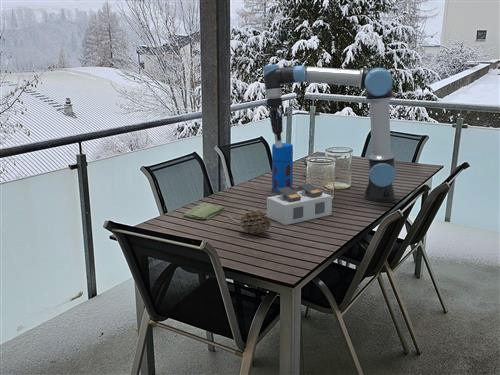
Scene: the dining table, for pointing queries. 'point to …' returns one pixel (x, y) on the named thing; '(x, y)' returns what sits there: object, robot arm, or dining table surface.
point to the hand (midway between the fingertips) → (279, 147)
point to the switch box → (298, 208)
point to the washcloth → (204, 211)
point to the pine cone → (253, 222)
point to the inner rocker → (310, 190)
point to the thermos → (282, 166)
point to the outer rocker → (289, 194)
